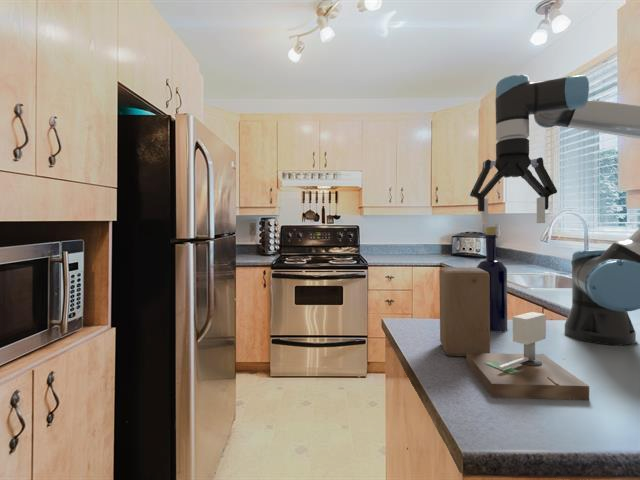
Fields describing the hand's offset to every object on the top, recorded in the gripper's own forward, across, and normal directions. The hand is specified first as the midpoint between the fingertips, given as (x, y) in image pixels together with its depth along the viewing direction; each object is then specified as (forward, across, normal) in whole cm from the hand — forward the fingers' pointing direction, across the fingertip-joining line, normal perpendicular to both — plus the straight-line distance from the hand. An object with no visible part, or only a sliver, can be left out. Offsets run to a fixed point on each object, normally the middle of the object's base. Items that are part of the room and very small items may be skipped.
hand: (512, 223), depth 94 cm
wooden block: (+31, +14, +7) cm, 35 cm away
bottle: (+31, +1, -14) cm, 34 cm away
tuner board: (+31, +8, +24) cm, 40 cm away
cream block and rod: (+28, +8, +23) cm, 37 cm away
